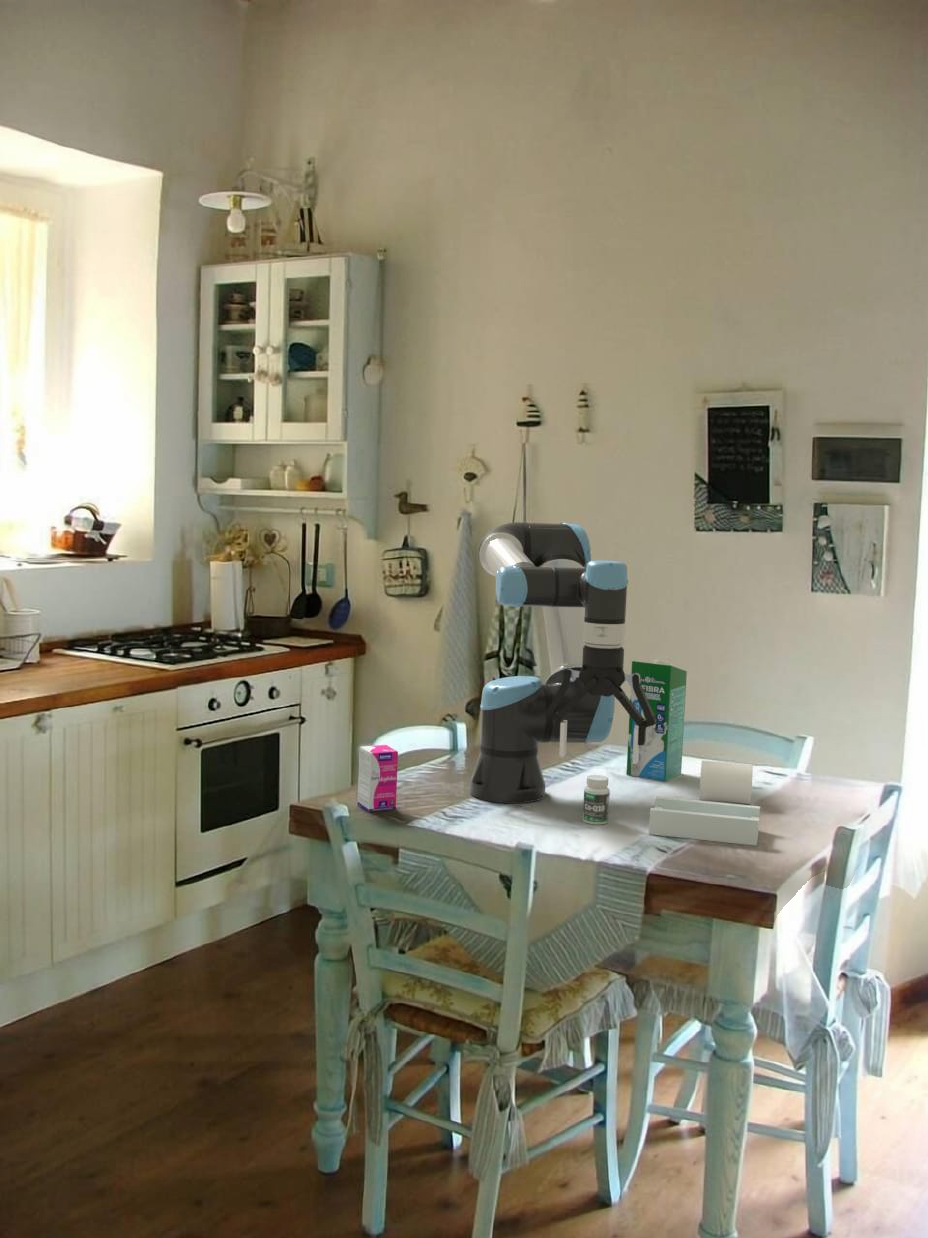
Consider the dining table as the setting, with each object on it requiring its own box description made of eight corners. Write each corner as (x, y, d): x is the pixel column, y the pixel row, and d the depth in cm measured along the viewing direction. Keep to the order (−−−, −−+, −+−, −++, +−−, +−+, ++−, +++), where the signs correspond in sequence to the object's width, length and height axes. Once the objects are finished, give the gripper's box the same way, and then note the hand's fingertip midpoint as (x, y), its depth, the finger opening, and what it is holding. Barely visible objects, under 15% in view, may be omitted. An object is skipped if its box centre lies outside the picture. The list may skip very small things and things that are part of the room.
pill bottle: (579, 823, 229) (581, 778, 228) (586, 816, 233) (588, 773, 232) (604, 826, 227) (606, 781, 226) (610, 820, 232) (613, 776, 231)
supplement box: (368, 812, 231) (370, 752, 230) (356, 804, 237) (358, 746, 235) (397, 809, 234) (398, 750, 233) (384, 801, 239) (386, 743, 238)
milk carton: (681, 773, 269) (687, 660, 266) (664, 781, 262) (671, 665, 259) (643, 767, 274) (649, 655, 271) (626, 774, 267) (631, 660, 264)
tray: (648, 834, 223) (650, 809, 223) (655, 819, 233) (656, 796, 232) (756, 845, 218) (758, 821, 218) (758, 830, 228) (760, 806, 227)
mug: (750, 809, 243) (753, 769, 242) (698, 804, 245) (701, 765, 244) (749, 794, 254) (751, 756, 253) (699, 789, 256) (702, 752, 255)
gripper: (532, 643, 226) (528, 757, 228) (670, 652, 219) (664, 769, 222) (541, 638, 233) (536, 749, 235) (674, 647, 227) (668, 760, 229)
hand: (598, 759), depth 229 cm, fingers open, 13 cm apart
